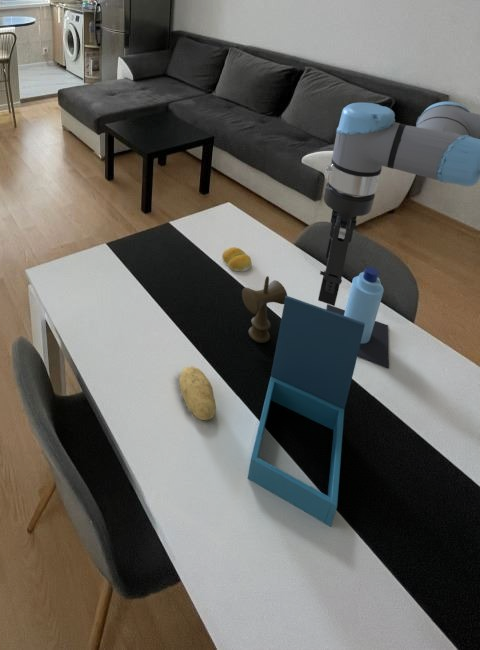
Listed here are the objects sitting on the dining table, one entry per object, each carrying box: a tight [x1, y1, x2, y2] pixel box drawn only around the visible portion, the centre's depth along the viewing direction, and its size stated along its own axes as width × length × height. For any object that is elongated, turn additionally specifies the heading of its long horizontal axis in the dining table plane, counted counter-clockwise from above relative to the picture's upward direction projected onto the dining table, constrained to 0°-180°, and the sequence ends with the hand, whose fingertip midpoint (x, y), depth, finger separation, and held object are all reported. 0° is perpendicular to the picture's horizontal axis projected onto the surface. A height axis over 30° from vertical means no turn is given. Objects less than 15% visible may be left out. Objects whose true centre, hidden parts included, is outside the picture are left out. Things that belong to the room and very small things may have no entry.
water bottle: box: [344, 266, 385, 344], centre depth 106 cm, size 6×6×20 cm
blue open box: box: [247, 376, 345, 528], centre depth 83 cm, size 19×14×8 cm
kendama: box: [241, 275, 288, 344], centre depth 107 cm, size 6×10×20 cm, turn 106°
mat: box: [326, 303, 390, 370], centre depth 110 cm, size 14×14×1 cm
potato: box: [179, 365, 217, 421], centre depth 95 cm, size 7×11×6 cm, turn 7°
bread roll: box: [221, 247, 253, 272], centre depth 136 cm, size 8×9×4 cm
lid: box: [270, 295, 365, 410], centre depth 87 cm, size 20×14×1 cm
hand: (329, 279), depth 85 cm, fingers open, 13 cm apart
